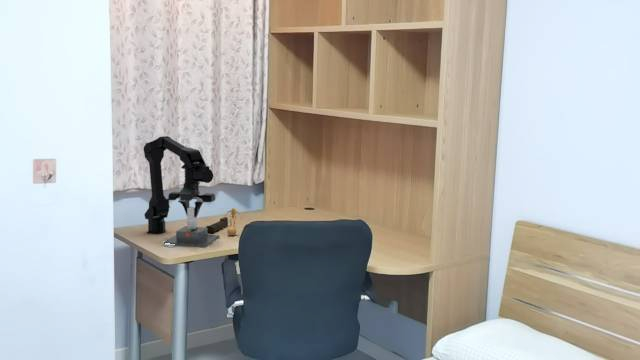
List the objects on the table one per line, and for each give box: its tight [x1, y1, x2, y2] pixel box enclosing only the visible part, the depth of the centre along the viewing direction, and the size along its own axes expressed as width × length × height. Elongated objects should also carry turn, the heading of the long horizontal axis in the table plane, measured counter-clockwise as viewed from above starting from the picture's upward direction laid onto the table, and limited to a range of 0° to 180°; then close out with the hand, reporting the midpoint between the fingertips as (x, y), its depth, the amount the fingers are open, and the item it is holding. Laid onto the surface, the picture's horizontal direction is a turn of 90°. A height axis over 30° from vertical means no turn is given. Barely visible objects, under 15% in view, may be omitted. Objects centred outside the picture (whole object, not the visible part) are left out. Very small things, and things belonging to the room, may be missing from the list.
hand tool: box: [205, 216, 229, 235], centre depth 320 cm, size 19×4×5 cm, turn 160°
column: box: [186, 206, 198, 230], centre depth 296 cm, size 3×3×9 cm
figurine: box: [223, 207, 243, 237], centre depth 309 cm, size 8×6×12 cm
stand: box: [163, 225, 220, 248], centre depth 297 cm, size 18×18×6 cm
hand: (192, 217), depth 296 cm, fingers closed on column, 3 cm apart
